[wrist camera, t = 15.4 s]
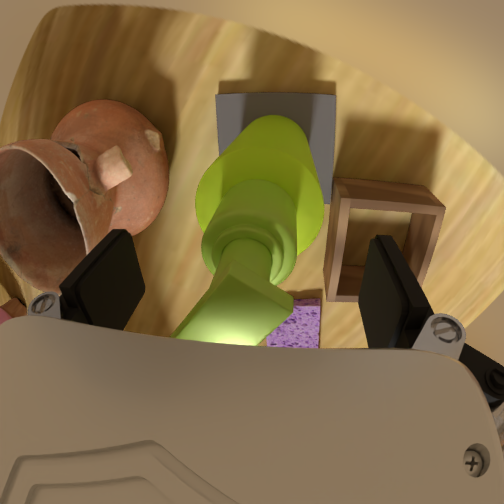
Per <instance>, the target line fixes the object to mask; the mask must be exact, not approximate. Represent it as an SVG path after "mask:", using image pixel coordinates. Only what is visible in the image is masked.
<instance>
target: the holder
mask: <svg viewBox="0 0 504 504" xmlns="http://www.w3.org/2000/svg"><path fill="white" fill-rule="evenodd" d="M350 208H358V209H373V210H386V211H398V212H410V213H412V217H411V221H410V225H409V230H408V234H407V238H406V242H405V246H404V249H403V253H402V255H403V256H404V258H405V260H406V262H407V264H408V265H409V267H410V269H411V271H412V272H413V273H414V275H415V277H416V279H417V281H418V282H419V284H420V286H421V287H422V284H423V281H424V279H425V276H426V273H427V270H428V267H429V264H430V261H431V258H432V255H433V252H434V249H435V246H436V243H437V239H438V236H439V232H440V229H441V225H442V221H443V218H444V214H445V210H446V207H445V206H444V205H443V204H442V203H441V202H440V201H439V200H438V199H437V198H436V197H435V196H434V195H433V194H432V193H431V192H430V191H429V190H428V189H427V188H426V187H425V186H420V185H412V184H404V183H394V182H385V181H374V180H363V179H350V178H335V177H333V181H332V194H331V205H330V216H329V225H328V235H327V243H326V252H325V260H324V268H323V274H324V282H325V291H326V300H327V302H358V296H359V292H360V288H361V283H362V279H363V274H364V270H365V266H349V265H342V259H343V253H344V246H345V240H346V233H347V226H348V218H349V211H350Z"/></svg>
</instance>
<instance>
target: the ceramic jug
mask: <svg viewBox="0 0 504 504" xmlns="http://www.w3.org/2000/svg"><path fill="white" fill-rule="evenodd" d="M168 186H169V165H168V159H167V155H166V151H165V147H164V141H163V137H162V133H161V132H160V131H158V130H157V129H156V128H155V127H154V126H153V125H152V123H151V122H150V121H149V120H148V119H147V118H146V117H145V116H144V115H142V114H141V113H140V112H138V111H137V110H136V109H134V108H132V107H130V106H128V105H126V104H124V103H121V102H118V101H114V100H106V99H105V100H104V99H100V100H93V101H89V102H86V103H83V104H81V105H79V106H77V107H76V108H74V109H73V110H71V111H70V112H69V113H68V114H66V115H65V116H64V117H63V119H62V120H61V121H60V122H59V124H58V125H57V127H56V128H55V130H54V132H53V134H52V136H51V139H30V140H22V141H17V142H14V143H10V144H8V145H5V146H3V147H1V148H0V255H1V256H2V258H3V259H4V260H5V261H6V262H7V263H8V264H9V266H11V268H12V269H13V270H14V271H15V272H16V274H17V275H18V276H19V277H20V278H22V279H23V280H24V281H26V282H27V283H29V284H31V285H32V286H33V287H35V288H37V289H38V290H42V291H43V292H50V291H53V292H56V293H57V294H58V295H61V294H62V293H61V291H60V288H59V285H60V284H61V283H62V282H63V281H64V280H65V278H66V277H67V276H68V275H69V274H70V273H71V272H72V271H73V270H74V268H75V267H76V266H77V265H78V264H79V263H80V262H81V261H82V260H83V259H84V258H85V257H86V256H87V255H88V253H89V252H90V251H91V250H92V249H93V248H94V247H95V246H96V245H97V244H98V243H99V242H100V241H101V240H102V239H103V238H104V237H105V236H106V235H107V234H108V233H109V232H110V231H111V230H112V229H126V230H127V231H128V232H129V233H130V234H131V236H133V235H136V234H138V233H140V232H141V231H143V230H144V229H146V228H147V227H148V226H149V225H150V224H151V223H152V222H153V221H154V220H155V218H156V217H157V215H158V213H159V212H160V210H161V209H162V207H163V204H164V202H165V199H166V196H167V191H168Z"/></svg>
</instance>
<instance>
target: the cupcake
mask: <svg viewBox="0 0 504 504" xmlns="http://www.w3.org/2000/svg"><path fill="white" fill-rule="evenodd" d="M21 316H27V308H26V307H25V306H24V305H22V304H21V303H20V301H19V300H18V299H17V298H12V299H11V300H9V301H8V302H7V303H5V304H4V305H2V306H0V325H1V324H2V323H4V322H5V321H7V320H9V319H12V318H16V317H21Z"/></svg>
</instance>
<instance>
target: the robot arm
mask: <svg viewBox="0 0 504 504" xmlns="http://www.w3.org/2000/svg"><path fill="white" fill-rule="evenodd" d="M59 288H60V291H61V293H62V294H61V296H60V297H59V295H58V294H57V293H56V292H53V291H50V292H45V293H42V294H40V295H38V296H37V297H36V298H34V299H33V300H32V301H31V303H30V305H29V307H28V315H27V316H21V317H16V318H12V319H9V320H7V321H5V322H4V323H2V324H1V325H0V504H504V367H503V366H502V365H500V364H499V363H497V362H495V361H494V360H492V359H491V358H489V357H487V356H486V355H484V354H482V353H481V352H479V351H477V350H476V349H474V348H472V347H471V346H469V345H467V344H466V343H464V342H465V339H466V332H465V329H464V327H463V325H462V324H461V323H460V322H459V321H458V320H457V319H456V318H454V317H452V316H450V315H447V314H442V313H439V314H434V312H433V310H432V308H431V306H430V304H429V302H428V300H427V298H426V296H425V294H424V292H423V290H422V288H421V286H420V284H419V282H418V281H417V279H416V277H415V275H414V273H413V272H412V271H411V269H410V267H409V265H408V264H407V262H406V260H405V258H404V256H403V255H402V253H401V251H400V249H399V248H398V246H397V244H396V243H395V241H394V239H393V238H392V236H387V235H376V237H375V239H371V241H370V245H369V250H368V255H367V260H366V265H365V270H364V274H363V279H362V283H361V288H360V292H359V296H358V304H359V308H360V312H361V317H362V321H363V325H364V329H365V334H366V338H367V343H368V347H369V348H293V347H270V346H252V345H238V344H225V343H214V342H204V341H195V340H186V339H177V338H169V337H162V336H154V335H148V334H141V333H134V332H128V331H123V329H124V328H125V326H126V324H127V322H128V321H129V319H130V317H131V315H132V314H133V312H134V310H135V308H136V307H137V305H138V303H139V301H140V300H141V298H142V296H143V295H144V292H145V284H144V281H143V277H142V274H141V270H140V266H139V263H138V259H137V255H136V251H135V247H134V243H133V239H132V236H131V234H130V233H129V232H128V231H127V230H126V229H112V230H111V231H110V232H109V233H108V234H107V235H106V236H105V237H104V238H103V239H102V240H101V241H100V242H99V243H98V244H97V245H96V246H95V247H94V248H93V249H92V250H91V251H90V252H89V253H88V255H87V256H86V257H85V258H84V259H83V260H82V261H81V262H80V263H79V264H78V265H77V266H76V267H75V268H74V270H73V271H72V272H71V273H70V274H69V275H68V276H67V277H66V278H65V280H64V281H63V282H62V283H61V284H60V285H59Z"/></svg>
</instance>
